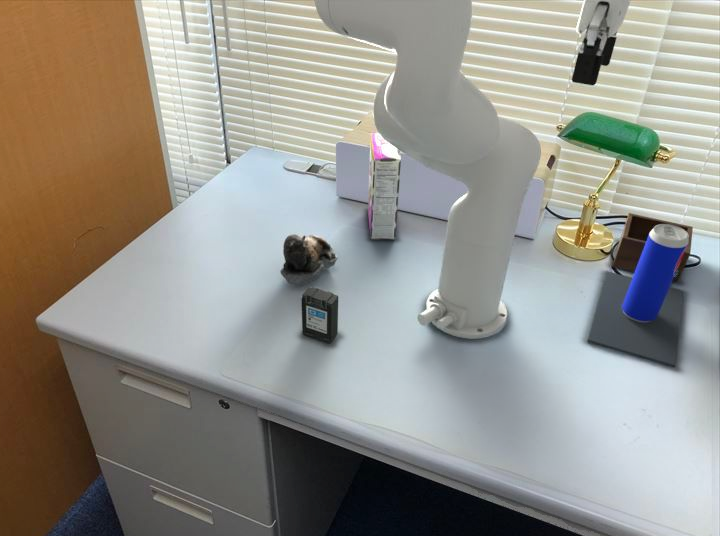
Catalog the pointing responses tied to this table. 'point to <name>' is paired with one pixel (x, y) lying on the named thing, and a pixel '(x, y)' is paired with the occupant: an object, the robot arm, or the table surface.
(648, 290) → the beverage can
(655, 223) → the brown wooden box
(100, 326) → the table surface
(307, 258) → the bison figurine
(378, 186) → the candy bar box
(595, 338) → the desk mat
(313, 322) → the ink cartridge
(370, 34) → the robot arm
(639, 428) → the table surface
